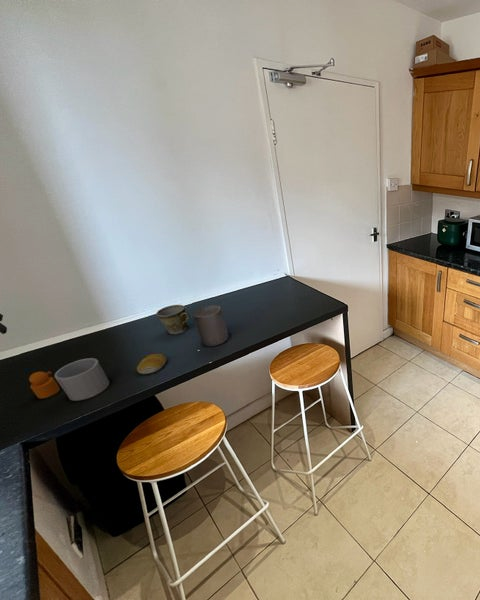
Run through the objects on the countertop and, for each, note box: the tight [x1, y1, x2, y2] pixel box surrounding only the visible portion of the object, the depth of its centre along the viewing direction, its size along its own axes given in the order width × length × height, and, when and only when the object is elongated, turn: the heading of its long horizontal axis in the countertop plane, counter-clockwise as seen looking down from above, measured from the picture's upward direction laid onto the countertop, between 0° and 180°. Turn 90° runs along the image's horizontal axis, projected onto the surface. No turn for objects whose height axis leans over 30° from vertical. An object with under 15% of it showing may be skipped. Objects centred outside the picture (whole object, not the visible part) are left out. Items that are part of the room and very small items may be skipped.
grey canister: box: [192, 304, 230, 347], centre depth 126 cm, size 10×10×15 cm
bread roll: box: [136, 353, 168, 375], centre depth 114 cm, size 8×9×4 cm
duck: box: [28, 371, 61, 399], centre depth 101 cm, size 6×5×8 cm
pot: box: [54, 357, 110, 402], centre depth 102 cm, size 10×10×9 cm
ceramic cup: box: [156, 304, 191, 335], centre depth 134 cm, size 13×10×10 cm
